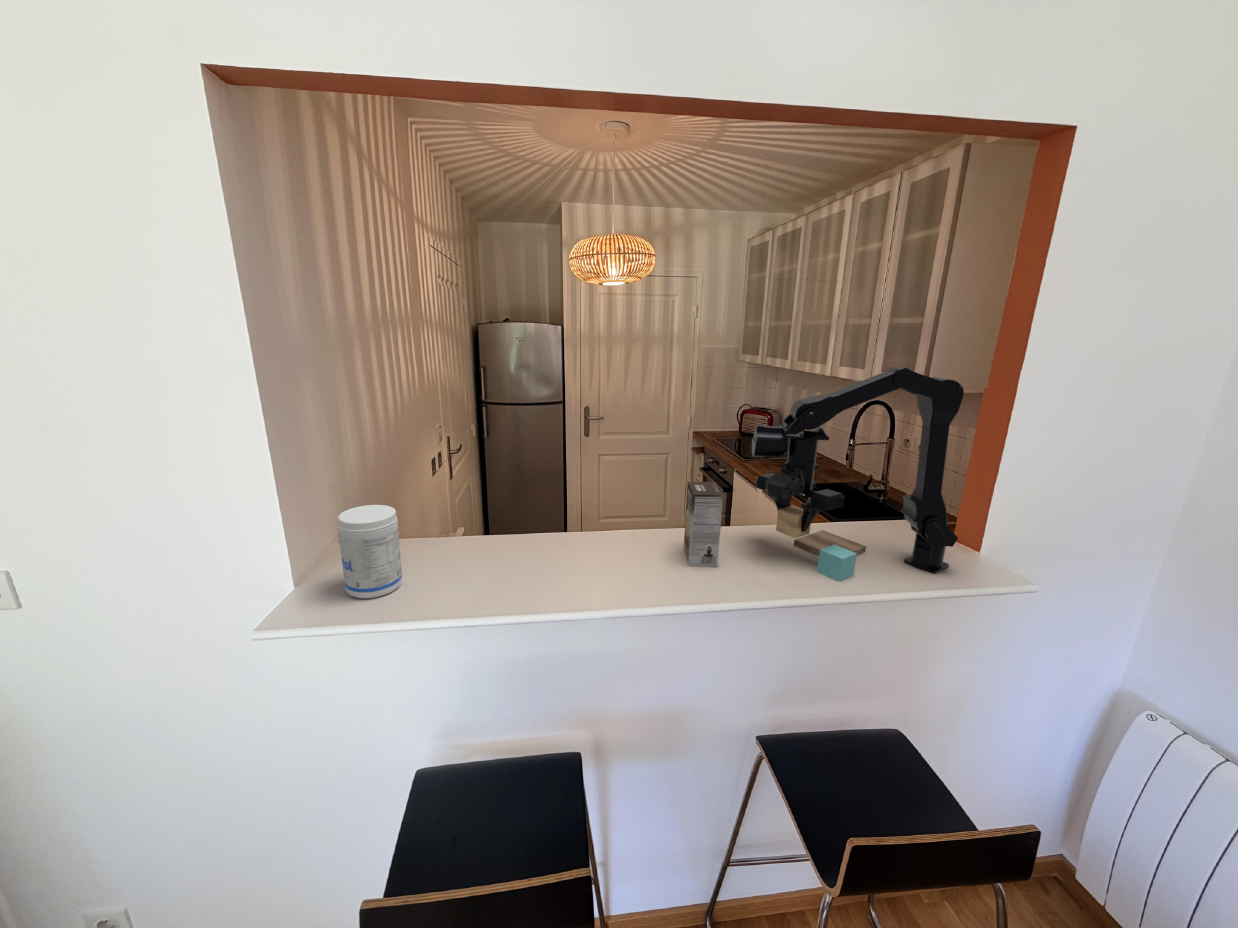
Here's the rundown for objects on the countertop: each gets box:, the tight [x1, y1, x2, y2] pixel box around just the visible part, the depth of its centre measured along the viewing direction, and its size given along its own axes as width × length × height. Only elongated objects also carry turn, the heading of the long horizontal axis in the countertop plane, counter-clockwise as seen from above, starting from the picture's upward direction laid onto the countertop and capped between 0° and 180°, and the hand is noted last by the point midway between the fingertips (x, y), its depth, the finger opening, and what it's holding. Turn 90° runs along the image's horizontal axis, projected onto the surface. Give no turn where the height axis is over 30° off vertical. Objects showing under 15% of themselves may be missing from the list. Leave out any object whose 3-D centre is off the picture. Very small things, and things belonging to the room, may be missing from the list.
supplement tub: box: [337, 504, 403, 599], centre depth 89 cm, size 10×10×15 cm
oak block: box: [775, 505, 812, 539], centre depth 108 cm, size 5×5×5 cm
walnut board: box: [793, 529, 867, 557], centre depth 113 cm, size 11×11×2 cm
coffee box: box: [683, 481, 724, 568], centre depth 105 cm, size 9×6×16 cm
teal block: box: [816, 545, 858, 582], centre depth 100 cm, size 5×5×5 cm
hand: (793, 527), depth 108 cm, fingers closed on oak block, 5 cm apart
